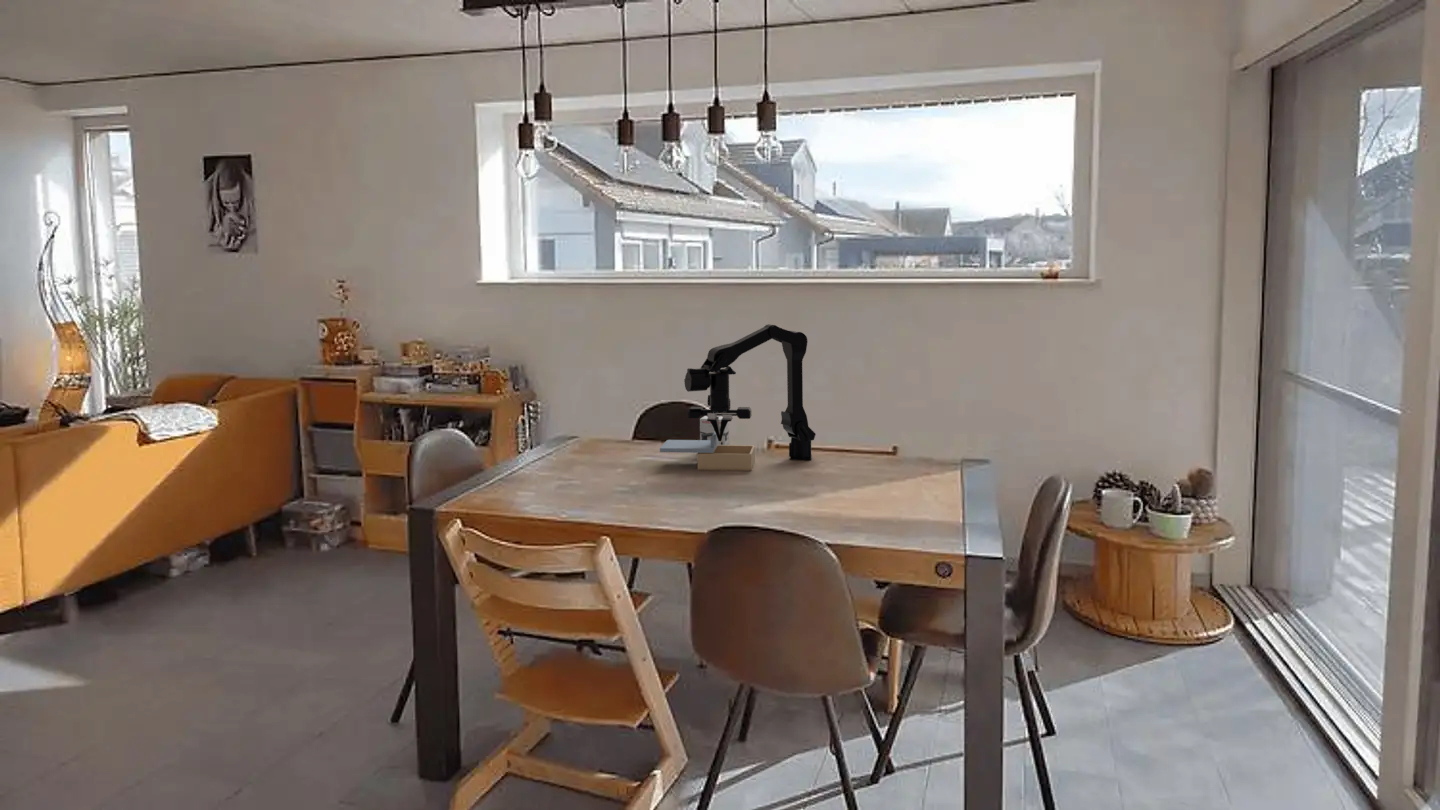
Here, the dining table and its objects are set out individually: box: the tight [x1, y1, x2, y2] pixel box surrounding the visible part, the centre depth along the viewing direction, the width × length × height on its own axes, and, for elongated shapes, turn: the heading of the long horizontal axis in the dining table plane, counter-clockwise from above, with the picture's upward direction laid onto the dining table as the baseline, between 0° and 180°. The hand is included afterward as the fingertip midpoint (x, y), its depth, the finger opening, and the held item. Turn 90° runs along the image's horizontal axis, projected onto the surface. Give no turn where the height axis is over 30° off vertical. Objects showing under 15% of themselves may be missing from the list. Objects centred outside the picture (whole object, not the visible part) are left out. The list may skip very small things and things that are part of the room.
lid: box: [659, 432, 719, 454], centre depth 317 cm, size 16×14×4 cm
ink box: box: [699, 416, 730, 445], centre depth 335 cm, size 8×5×12 cm, turn 73°
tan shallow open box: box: [697, 444, 756, 472], centre depth 316 cm, size 16×14×5 cm
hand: (720, 440), depth 315 cm, fingers closed
